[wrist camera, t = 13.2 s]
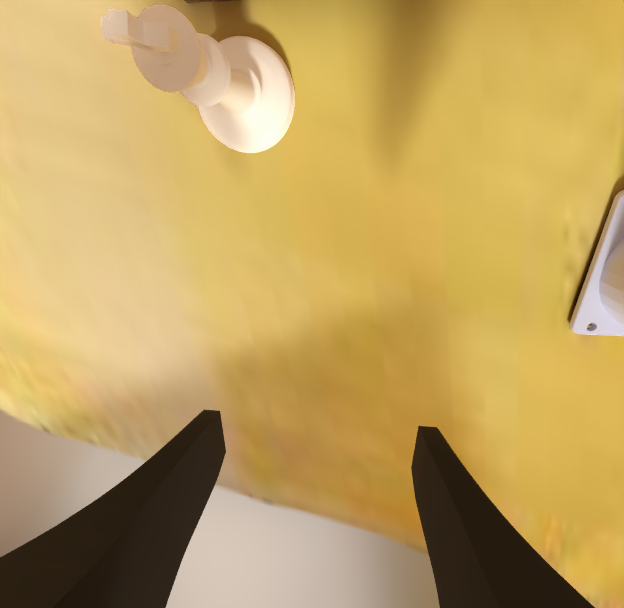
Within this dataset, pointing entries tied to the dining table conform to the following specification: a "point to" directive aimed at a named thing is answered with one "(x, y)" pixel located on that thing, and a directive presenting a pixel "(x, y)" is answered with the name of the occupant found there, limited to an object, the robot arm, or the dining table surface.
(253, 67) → the chess piece
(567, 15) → the dining table surface
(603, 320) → the robot arm
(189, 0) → the walnut board
